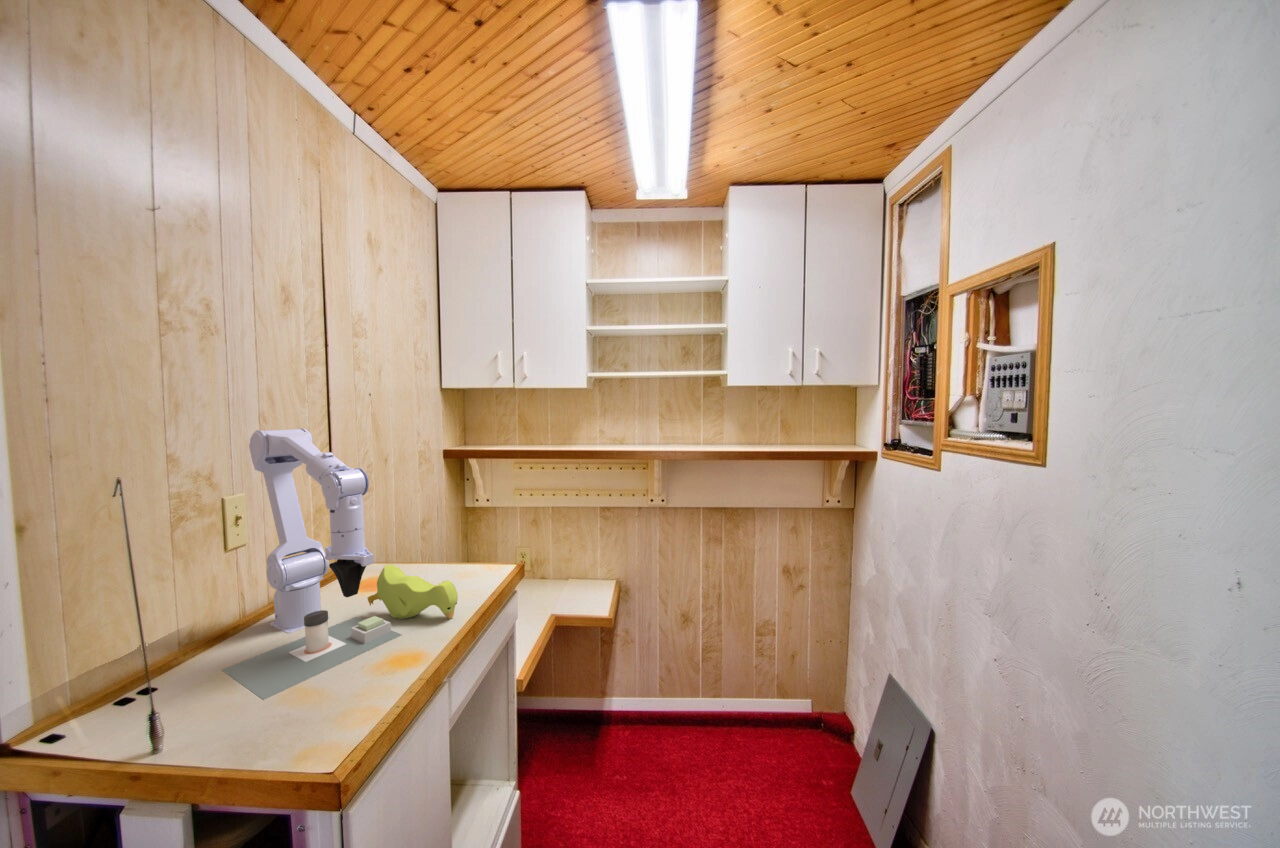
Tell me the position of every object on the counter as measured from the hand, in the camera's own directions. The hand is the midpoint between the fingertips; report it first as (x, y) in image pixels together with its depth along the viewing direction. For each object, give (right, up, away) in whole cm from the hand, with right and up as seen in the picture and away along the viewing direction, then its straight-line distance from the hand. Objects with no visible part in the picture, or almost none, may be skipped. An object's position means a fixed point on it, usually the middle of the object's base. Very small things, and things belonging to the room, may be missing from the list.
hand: (350, 595), depth 89 cm
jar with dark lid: (-4, -9, -3) cm, 11 cm away
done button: (+3, -9, +2) cm, 9 cm away
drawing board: (-4, -10, -4) cm, 11 cm away
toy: (+7, -9, +11) cm, 16 cm away
